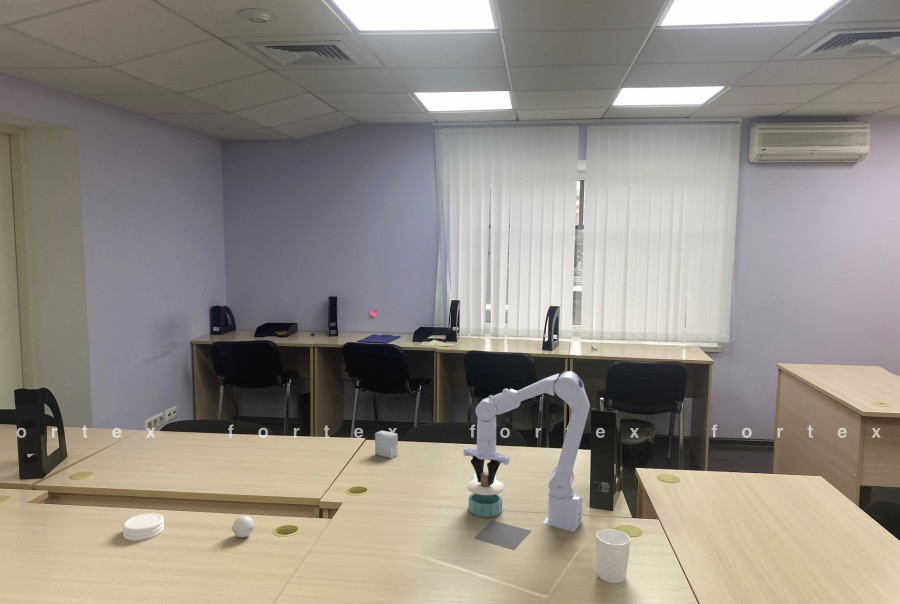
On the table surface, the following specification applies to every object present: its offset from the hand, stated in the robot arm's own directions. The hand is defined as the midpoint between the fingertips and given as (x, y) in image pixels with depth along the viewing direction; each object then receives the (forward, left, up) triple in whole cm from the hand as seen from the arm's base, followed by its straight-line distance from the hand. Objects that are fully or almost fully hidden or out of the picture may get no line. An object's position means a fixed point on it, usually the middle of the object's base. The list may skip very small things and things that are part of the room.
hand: (485, 482), depth 173 cm
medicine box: (+54, -23, -9) cm, 59 cm away
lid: (0, 0, -2) cm, 2 cm away
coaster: (+75, +61, -10) cm, 97 cm away
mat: (-11, +11, -9) cm, 18 cm away
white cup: (-42, +15, -9) cm, 46 cm away
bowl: (0, 0, -9) cm, 9 cm away
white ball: (+49, +49, -9) cm, 70 cm away
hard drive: (+10, -19, -10) cm, 24 cm away
